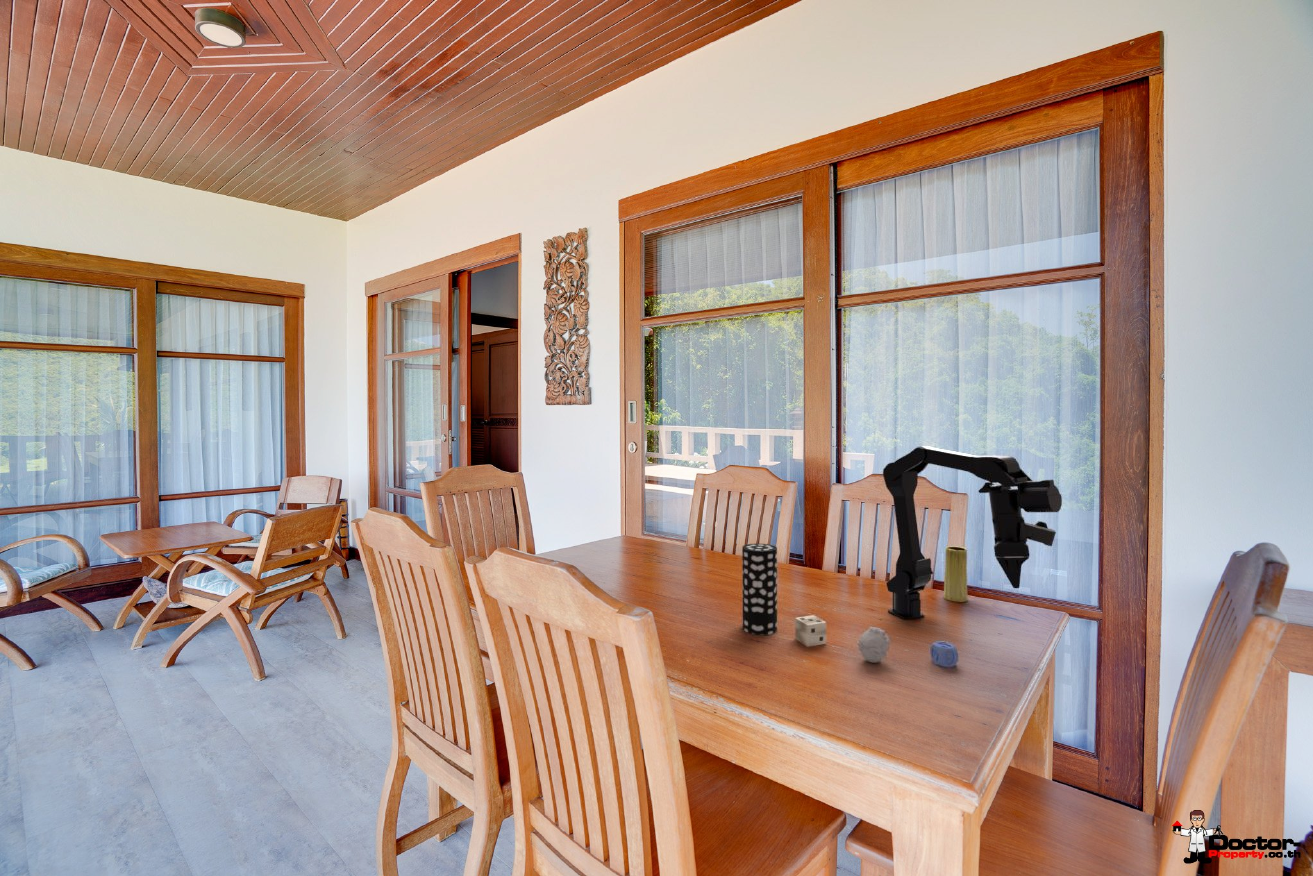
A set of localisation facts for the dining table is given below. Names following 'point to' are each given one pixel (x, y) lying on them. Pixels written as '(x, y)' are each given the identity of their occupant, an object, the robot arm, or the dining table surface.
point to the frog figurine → (874, 644)
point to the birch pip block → (810, 630)
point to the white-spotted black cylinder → (759, 588)
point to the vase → (955, 574)
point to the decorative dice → (944, 654)
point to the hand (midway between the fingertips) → (1015, 584)
